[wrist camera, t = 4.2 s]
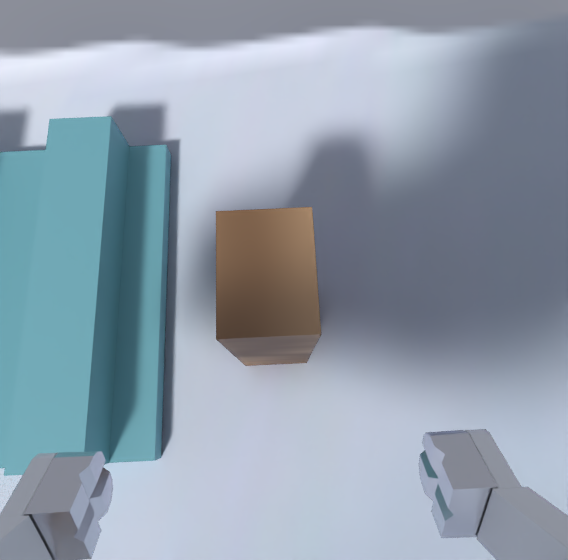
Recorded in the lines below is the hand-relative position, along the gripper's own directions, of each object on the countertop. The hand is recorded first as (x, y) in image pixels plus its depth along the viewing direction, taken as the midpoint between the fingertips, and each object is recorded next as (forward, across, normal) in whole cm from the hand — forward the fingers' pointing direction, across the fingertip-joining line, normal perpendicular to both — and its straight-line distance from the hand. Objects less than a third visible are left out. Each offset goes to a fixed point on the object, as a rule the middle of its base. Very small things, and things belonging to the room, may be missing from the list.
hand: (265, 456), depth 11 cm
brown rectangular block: (+10, 0, +3) cm, 11 cm away
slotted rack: (+12, +13, +2) cm, 17 cm away
